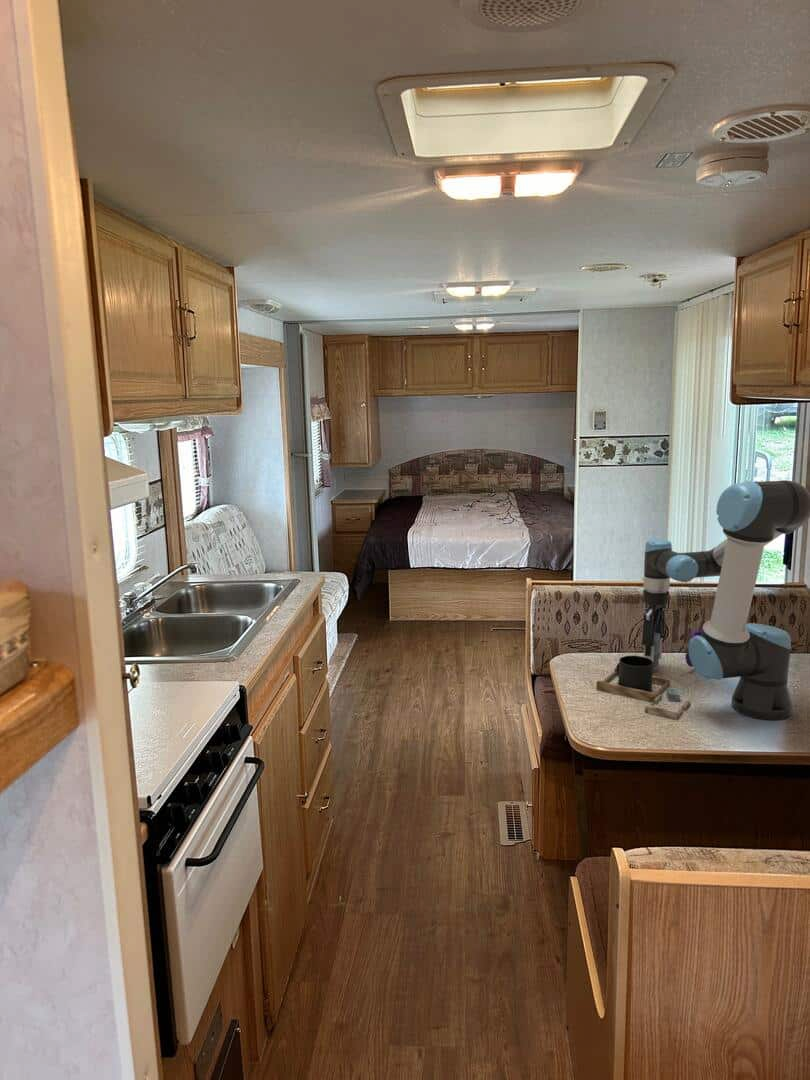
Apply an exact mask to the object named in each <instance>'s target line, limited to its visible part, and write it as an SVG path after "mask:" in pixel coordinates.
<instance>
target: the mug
mask: <svg viewBox="0 0 810 1080" xmlns="http://www.w3.org/2000/svg"><path fill="white" fill-rule="evenodd" d="M615 668H616V670H617V673H618V675H619V676H618V683H617V685H620V686H625V687H630V688H634V689H639V690H643V691H648V692H652V691H653V683H652V678H653V676H654V675H653V674H654V673H653V661H652V660H650V659H648V658H646V657H644V656H641V655H625V656H622V657H620V658H619V661H618V663H617V664H616V667H615Z"/></svg>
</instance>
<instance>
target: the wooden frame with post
mask: <svg viewBox="0 0 810 1080" xmlns="http://www.w3.org/2000/svg"><path fill="white" fill-rule="evenodd" d="M653 645H654V658H653V674H656V673H657V672H658V671H659V660H660V659H659V645H660V633H655V635H654V641H653ZM616 677H619V675H618V673H617V670H616V667H615V668H614V670H613V672H612V673H611V674H610V675H608V676H606V678H605V679H603V680H602V681H601V680H597V681H596V689H595V690H596V691H600V692H604V693H608V694H613V695H619V696H623V697H626V698H631V699H636V700H639V701H645V702H650V703H651V702H654V699H655V698H656V697H657V696H658V695H659V694H662V695H663V693H664V692H665V691H667V688H670V685H671V684H670V683H671V679H670V678H665V677H661V676H655V675H653V678H652V685H653V684H654V685H660V686H661V687H660V688H659V689H657V690H656V692H648V691H643V690H639V689H634V688H630V687H625V686H620V685H618V684H617V683H616V684H614V683H610V682H611V681H612V680H614V679H615V678H616Z"/></svg>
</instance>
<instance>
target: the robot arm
mask: <svg viewBox="0 0 810 1080" xmlns="http://www.w3.org/2000/svg"><path fill="white" fill-rule="evenodd" d="M716 515H717V522H718V523H719V526H721V528H722V533H723V535H725V537H726V538H725V539H724V540H723V541H722V542H720V543H719V544H717V545H716V546H715V547H713V548H712V549H710V550H706V551H705V550H703V551H702V550H701V551H693V552H692V551H690V552H688V551H687V552H676V551H673V547H672V542H671V541H670V540H667V539H663V538H662V539H661V538H651V539H648V540H647V541H646V542H645V547H644V548H645V550H644V560H643V561H644V564H643V565H644V566H643V577H642V578H641V579H642V581H643V591H642V602H643V603H645V604H647V605H648V606H647V609H646V612H644V613H643V626H642V628H643V629H642V639H641V645H642V646H644V647H643V649H644V651H643V657H646V658H648V659H650V660H652V661H653V658H654V645H653V641H654V635H655V633H660V645H659V660H661V659H662V650H663V649H662V648H663V639H666V635H665V634H666V607H667V604H669V599H670V592H669V590H670V586H671V585H670V584H671V583H670V581H671V579H672V580H674V581H677V582H681V583H688V582H691V581H692V580H694V579H696V578H709V577H718V582H717V587H716V591H715V596H714V600H713V607H712V610H711V616H710V620H707V621H706V622H704V623H703V624H702V629H701V630H702V633H701V636H698V635H697V636H695V637H694V638H692V639H691V640H690V639H689V642H688V648H689V656H690V660H691V662H692V665H693V668H694V670H695V672H696V673H697V674H698V676H700V677H701V678H703V679H705V680H719V681H720V680H722V679H729V678H730V679H732V678H739V680H738V683H737V685H736V687H735V688H734V691H733V694H732V696H731V707H732V708H733V709H734V710H735V711H736V712H738V713H740V714H742V715H744V716H747V717H750V718H754V719H759V720H766V719H767V720H768V721H770V720H771V721H773V720H774V721H780V720H785V719H787V718H790V717H791V716H792V715H793V701H792V699H791V694H790V691H789V688H788V680H789V679H788V678H789V671H790V669H789V668H790V658H791V650H792V647H791V645H792V644H791V643H792V642H791V641H792V636H791V635H790V633H789V632H788V631H786V630H784V629H782V628H778V627H776V626H772V625H767V624H763V623H753V622H751V623H749V622H748V618H749V614H750V610H751V604H752V601H753V596H754V594H755V593H754V592H755V587H756V583H757V580H758V574H759V570H760V567H761V562H762V557H763V553H764V548H765V546H767V545H768V544H770V543H771V542H773V541H774V540H776V539H777V538H779V537H780V536H781V535H789V534H791V533H794V532H796V530H798V529H800V528H801V527H802V526H804V525H805V524H806V523H807V522H808V520H810V491H809V490H808V489H807V488H806V487H805V486H803V485H802V484H800V483H798V482H797V481H793V480H784V479H783V480H769V481H768V480H767V481H765V480H764V481H748V480H747V481H743V482H737V483H733V484H731V485H729V486H728V487H726V488H725V489H724V490H723V492H722V493H721V494H720V496H719V498H718V500H717V505H716ZM747 622H748V623H747Z"/></svg>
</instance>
